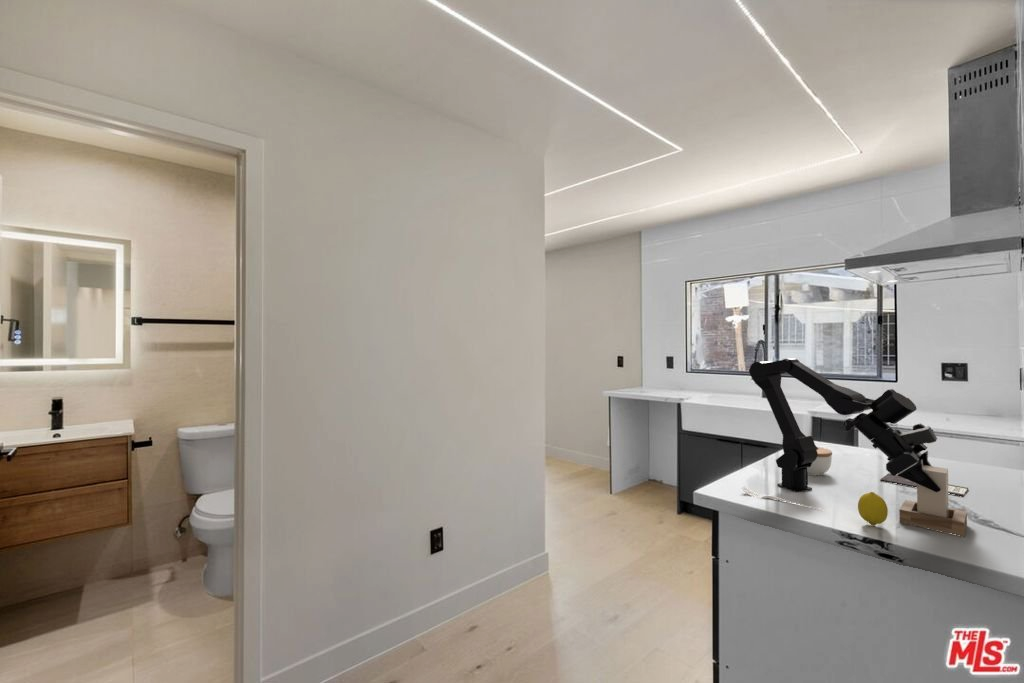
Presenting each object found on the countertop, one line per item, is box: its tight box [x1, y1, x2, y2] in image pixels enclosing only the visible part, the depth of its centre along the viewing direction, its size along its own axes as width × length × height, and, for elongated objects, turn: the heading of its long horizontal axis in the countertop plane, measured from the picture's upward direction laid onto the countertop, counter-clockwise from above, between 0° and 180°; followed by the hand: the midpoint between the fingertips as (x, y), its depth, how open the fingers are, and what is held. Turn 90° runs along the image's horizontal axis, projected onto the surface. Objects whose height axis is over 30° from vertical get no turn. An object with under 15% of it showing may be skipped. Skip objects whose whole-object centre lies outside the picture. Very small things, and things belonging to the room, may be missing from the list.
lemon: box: [857, 491, 889, 527], centre depth 106 cm, size 6×6×8 cm
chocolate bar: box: [879, 472, 969, 497], centre depth 133 cm, size 9×1×18 cm
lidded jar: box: [807, 446, 833, 477], centre depth 147 cm, size 11×11×9 cm
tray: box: [899, 499, 968, 538], centre depth 107 cm, size 9×11×3 cm
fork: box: [741, 486, 822, 511], centre depth 123 cm, size 3×20×2 cm, turn 44°
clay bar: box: [916, 465, 949, 518], centre depth 107 cm, size 5×5×12 cm
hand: (940, 487), depth 106 cm, fingers open, 7 cm apart
